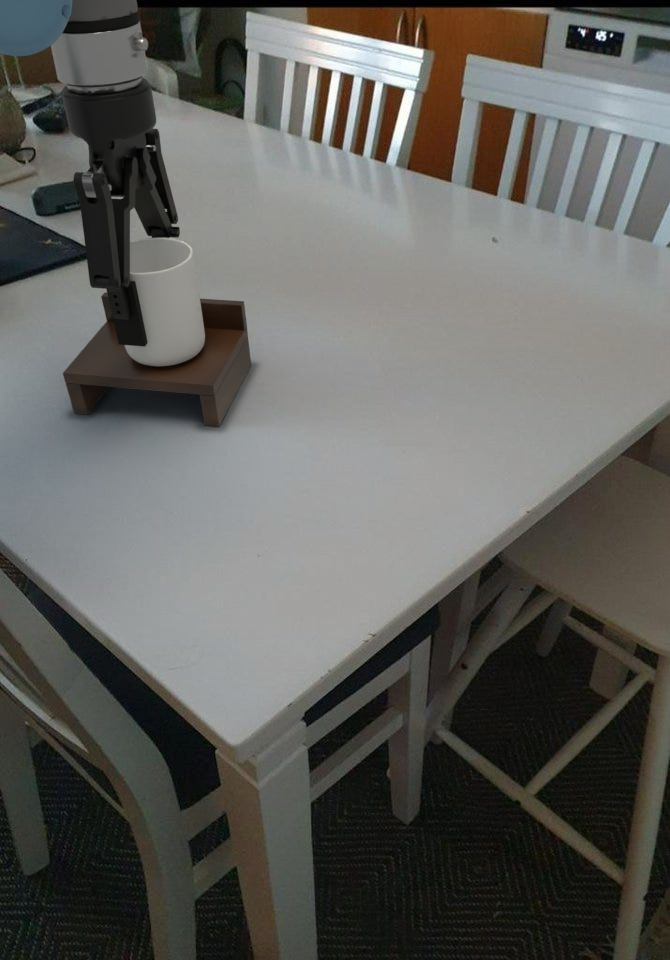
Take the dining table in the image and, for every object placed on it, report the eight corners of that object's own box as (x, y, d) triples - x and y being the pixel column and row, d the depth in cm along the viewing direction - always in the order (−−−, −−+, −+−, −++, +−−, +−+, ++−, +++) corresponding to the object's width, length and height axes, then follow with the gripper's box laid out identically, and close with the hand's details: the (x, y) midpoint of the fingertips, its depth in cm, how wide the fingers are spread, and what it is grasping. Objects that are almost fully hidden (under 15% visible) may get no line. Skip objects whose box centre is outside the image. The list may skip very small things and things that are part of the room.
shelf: (74, 413, 85) (54, 347, 80) (119, 355, 94) (104, 292, 89) (219, 427, 82) (208, 359, 77) (251, 365, 91) (244, 301, 86)
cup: (150, 377, 80) (130, 282, 73) (96, 331, 87) (74, 241, 81) (221, 349, 84) (209, 256, 77) (164, 307, 91) (148, 219, 85)
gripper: (92, 119, 60) (146, 379, 74) (189, 53, 76) (218, 276, 90) (0, 117, 61) (70, 372, 75) (115, 52, 77) (155, 272, 92)
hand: (151, 320), depth 83 cm, fingers closed on cup, 9 cm apart
